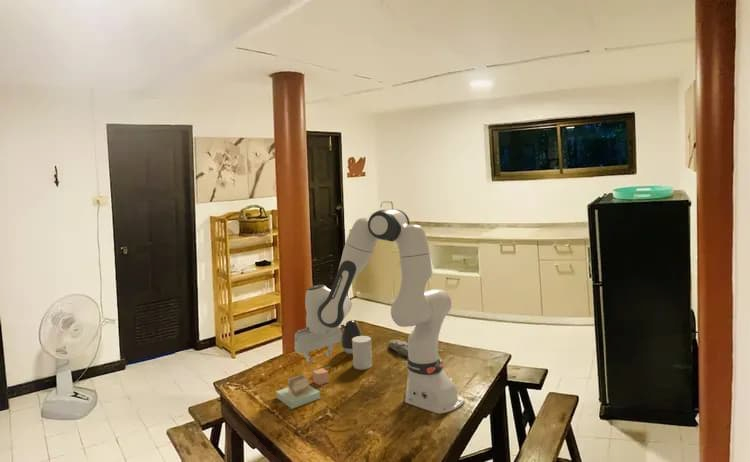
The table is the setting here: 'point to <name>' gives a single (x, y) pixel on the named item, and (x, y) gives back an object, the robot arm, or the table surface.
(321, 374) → the terracotta block
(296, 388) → the beech block
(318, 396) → the sage base
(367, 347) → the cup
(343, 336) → the pump dispenser
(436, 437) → the table surface
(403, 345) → the elongated rock
